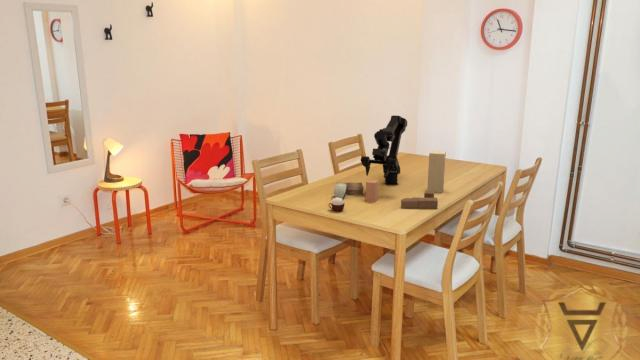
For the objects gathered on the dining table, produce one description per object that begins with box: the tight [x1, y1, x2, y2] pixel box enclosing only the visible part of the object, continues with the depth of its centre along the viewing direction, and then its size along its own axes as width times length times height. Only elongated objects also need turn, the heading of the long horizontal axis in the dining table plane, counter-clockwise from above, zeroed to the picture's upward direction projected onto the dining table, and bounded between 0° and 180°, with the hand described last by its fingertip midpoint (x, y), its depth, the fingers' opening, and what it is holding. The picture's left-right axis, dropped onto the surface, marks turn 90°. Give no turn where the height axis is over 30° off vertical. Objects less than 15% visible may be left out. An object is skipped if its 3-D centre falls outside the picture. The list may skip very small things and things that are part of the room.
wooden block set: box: [400, 190, 439, 210], centre depth 258 cm, size 17×6×18 cm
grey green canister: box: [333, 182, 347, 200], centre depth 269 cm, size 6×6×7 cm
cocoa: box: [328, 186, 349, 213], centre depth 248 cm, size 10×6×12 cm, turn 59°
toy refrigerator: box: [426, 150, 447, 194], centre depth 277 cm, size 8×7×21 cm
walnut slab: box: [344, 182, 364, 196], centre depth 280 cm, size 14×14×3 cm
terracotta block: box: [365, 179, 380, 203], centre depth 263 cm, size 5×5×10 cm
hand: (375, 176), depth 266 cm, fingers open, 9 cm apart
